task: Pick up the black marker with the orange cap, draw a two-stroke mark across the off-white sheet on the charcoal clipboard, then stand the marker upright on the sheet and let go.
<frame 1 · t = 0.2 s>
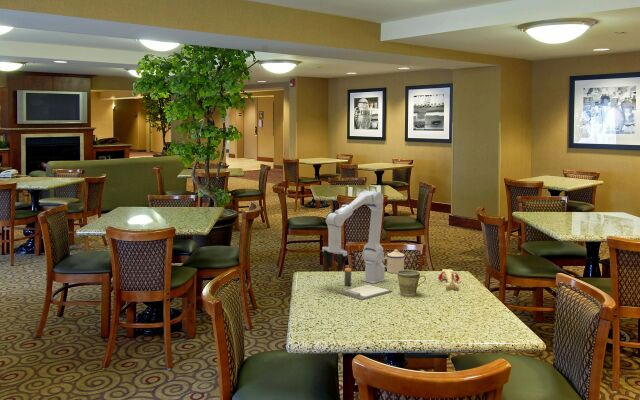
hand: (334, 268, 273), 10 cm above the table, tool pointing down, fingers open, 7 cm apart
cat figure: (449, 284, 287), on the table
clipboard: (365, 292, 270), on the table
ceramic cup: (411, 295, 267), on the table
teacup with lid: (392, 272, 310), on the table
marker: (347, 285, 282), on the table
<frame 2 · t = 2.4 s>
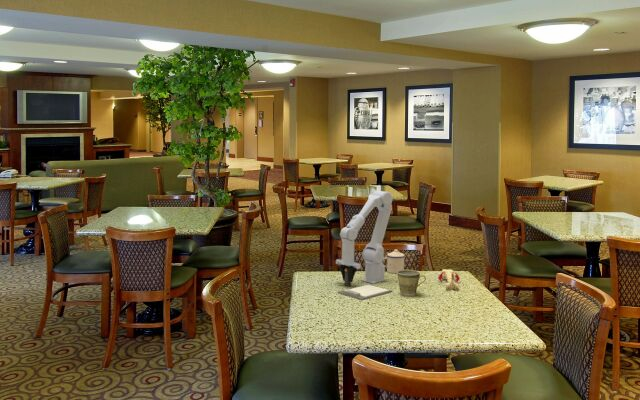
hand: (347, 281, 282), 2 cm above the table, tool pointing down, fingers closed on marker, 3 cm apart
marker: (347, 285, 282), on the table, touching gripper
everything else where it was.
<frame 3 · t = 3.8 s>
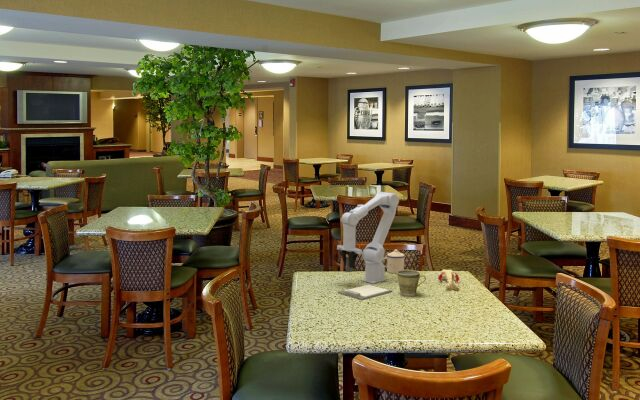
hand: (349, 266, 281), 9 cm above the table, tool pointing down, fingers closed on marker, 3 cm apart
marker: (348, 271, 281), point 7 cm above the table, touching gripper
everything else where it was.
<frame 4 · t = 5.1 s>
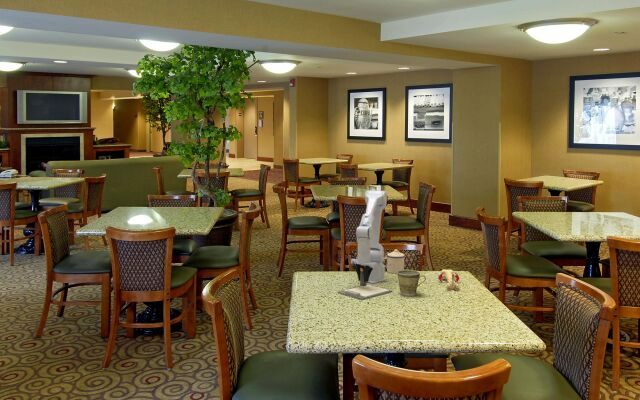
hand: (363, 281, 275), 4 cm above the table, tool pointing down, fingers closed on marker, 3 cm apart
marker: (363, 285, 275), point 2 cm above the table, touching gripper
everything else where it was.
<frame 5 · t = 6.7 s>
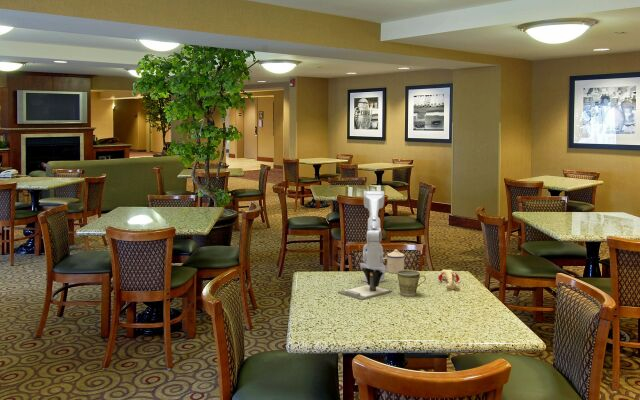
hand: (373, 285, 270), 3 cm above the table, tool pointing down, fingers closed on marker, 3 cm apart
marker: (372, 290, 270), point 1 cm above the table, touching gripper
everything else where it was.
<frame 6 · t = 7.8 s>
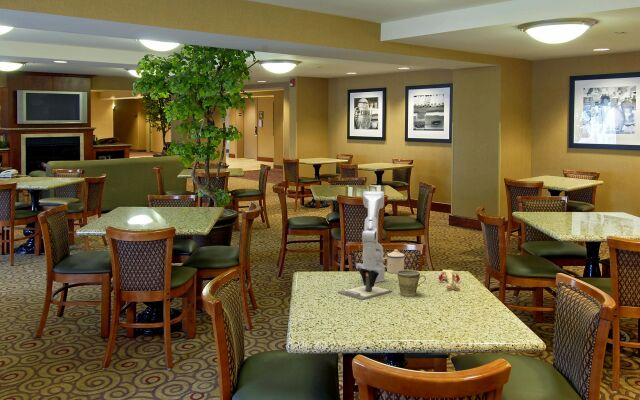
hand: (368, 286, 269), 3 cm above the table, tool pointing down, fingers closed on marker, 3 cm apart
marker: (368, 290, 270), point 1 cm above the table, touching gripper
everything else where it was.
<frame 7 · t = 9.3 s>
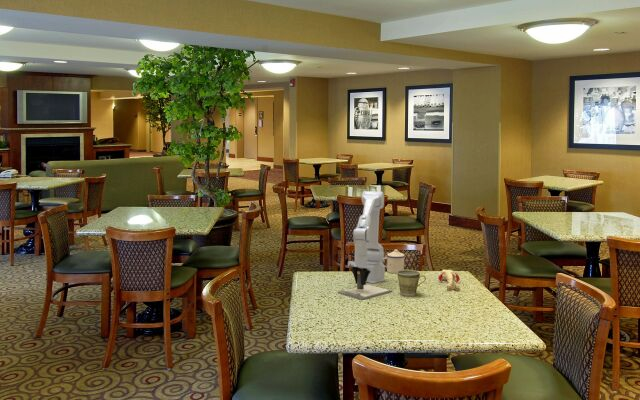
hand: (360, 284, 269), 4 cm above the table, tool pointing down, fingers closed on marker, 3 cm apart
marker: (360, 288, 269), point 2 cm above the table, touching gripper
everything else where it was.
when the fingers open (4 cm above the table, at t = 9.3 s): marker drops 1 cm, resting on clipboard.
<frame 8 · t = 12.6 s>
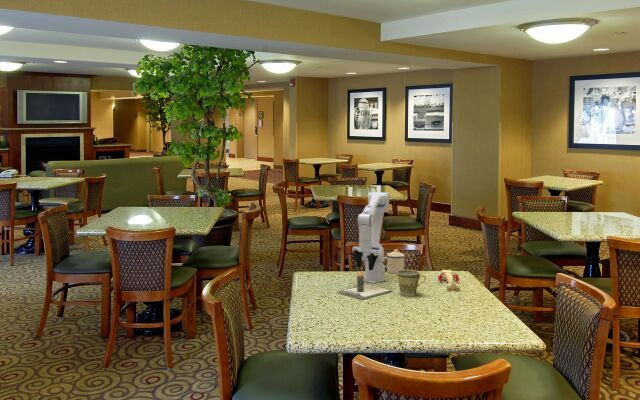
hand: (364, 268, 276), 9 cm above the table, tool pointing down, fingers open, 7 cm apart
marker: (360, 291, 269), point 1 cm above the table, touching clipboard
at the end: marker inside the target area on the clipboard (0.1 cm from its centre), point 0.8 cm above the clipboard's base; marker tilted 0°; the gripper is holding nothing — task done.
